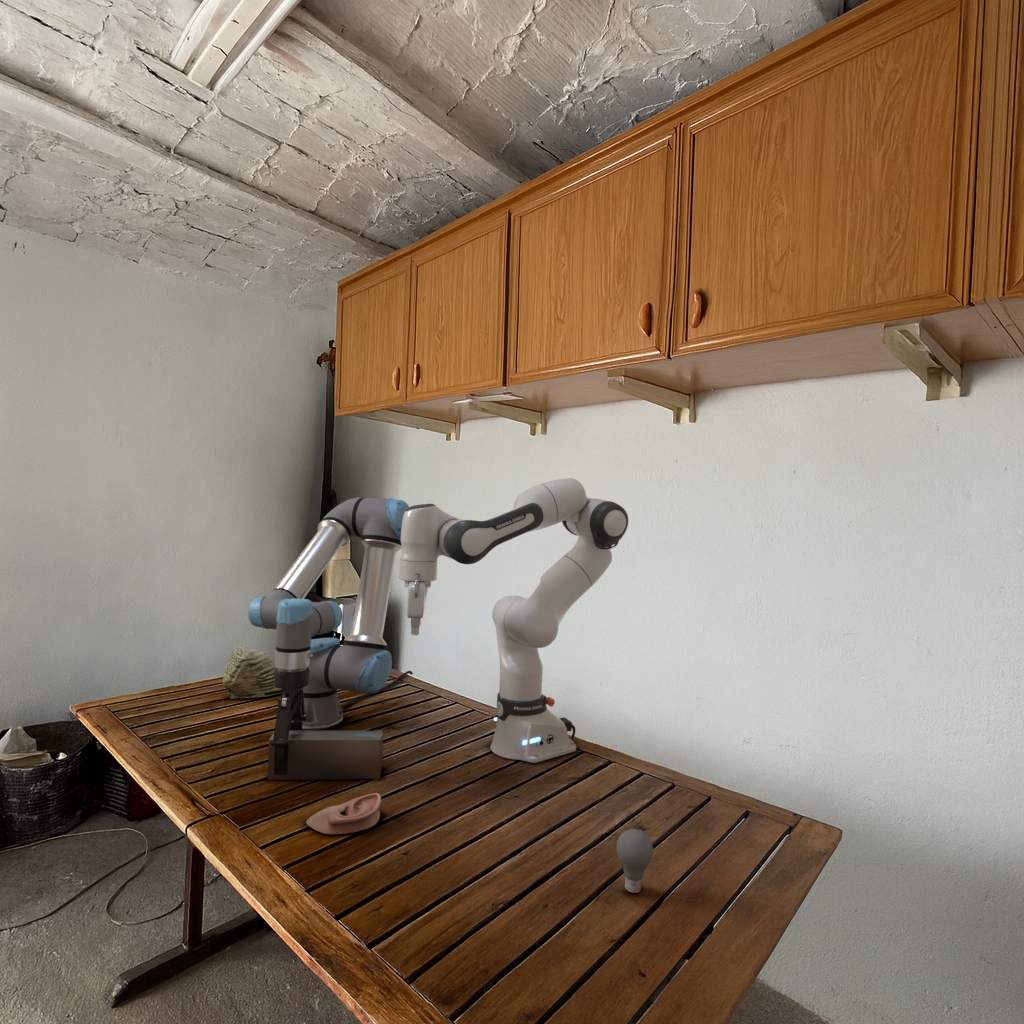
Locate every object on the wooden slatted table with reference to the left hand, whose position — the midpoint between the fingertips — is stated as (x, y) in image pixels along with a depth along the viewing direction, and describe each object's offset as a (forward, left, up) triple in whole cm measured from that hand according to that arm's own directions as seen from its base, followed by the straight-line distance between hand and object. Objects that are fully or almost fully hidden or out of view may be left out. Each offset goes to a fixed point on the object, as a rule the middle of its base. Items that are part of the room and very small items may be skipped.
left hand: (288, 761), depth 143 cm
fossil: (-24, -57, -3) cm, 62 cm away
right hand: (-22, +16, +30) cm, 40 cm away
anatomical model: (+4, +26, -3) cm, 26 cm away
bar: (-6, +6, -3) cm, 9 cm away
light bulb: (-15, +79, -3) cm, 81 cm away
